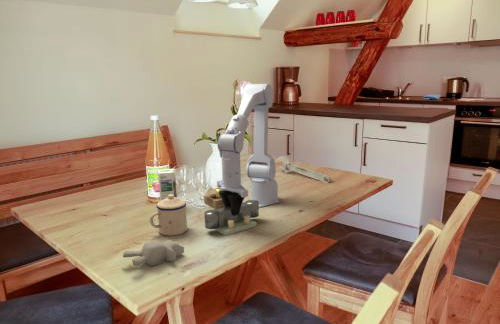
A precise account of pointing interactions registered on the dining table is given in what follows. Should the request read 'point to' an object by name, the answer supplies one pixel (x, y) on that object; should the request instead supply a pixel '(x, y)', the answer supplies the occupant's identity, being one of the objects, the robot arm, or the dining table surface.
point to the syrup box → (167, 183)
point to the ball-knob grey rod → (230, 214)
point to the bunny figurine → (156, 253)
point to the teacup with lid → (171, 216)
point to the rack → (236, 226)
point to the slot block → (213, 201)
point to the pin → (218, 193)
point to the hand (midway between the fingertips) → (232, 213)
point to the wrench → (301, 170)
